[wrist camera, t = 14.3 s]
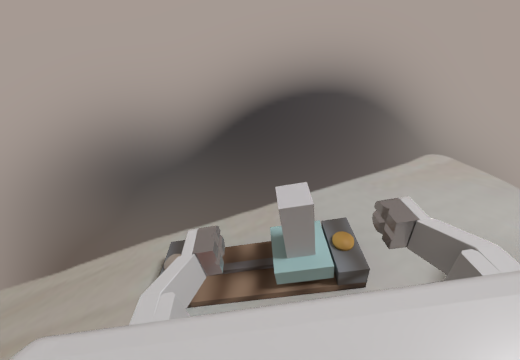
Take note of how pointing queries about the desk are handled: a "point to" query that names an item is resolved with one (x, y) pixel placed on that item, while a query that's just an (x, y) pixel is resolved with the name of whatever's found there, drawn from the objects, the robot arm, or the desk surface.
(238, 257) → the rail
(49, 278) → the desk surface
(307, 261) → the block
